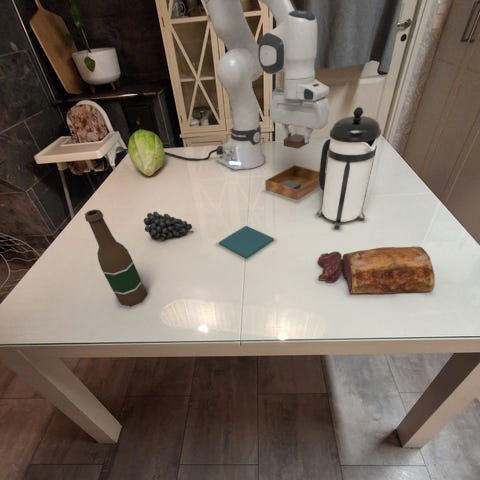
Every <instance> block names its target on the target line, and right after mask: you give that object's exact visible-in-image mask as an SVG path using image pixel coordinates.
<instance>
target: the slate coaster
mask: <svg viewBox="0 0 480 480" xmlns="http://www.w3.org/2000/svg"><path fill="white" fill-rule="evenodd" d="M281 185H284V186H287V187H290V188H293V189H297V190H298V189H300V188H301V184H300V183H297V182H294V181H290V180H287V181H285V182H284V183H282V184H281Z"/></svg>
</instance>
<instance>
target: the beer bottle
mask: <svg viewBox="0 0 480 480" xmlns="http://www.w3.org/2000/svg"><path fill="white" fill-rule="evenodd" d="M84 219H85V221H86V223H87V222H88V224H89V228H90V229H91V231H92V233H93V236H94V238H95V240H96V242H97V243H96V244H97V246H98V249H97V260H98V264H99V266H100V269H101V271H102V274H103V275H104V277H105V278H106V280H107V283H108V284H109V286H110V288H111V290H112V291H113V293H114V296H115V297H116V299H117V301H118V302H119V304H120V305H122V306H127V307H133V306H136V305H139V304H141V303H142V302H143V301H144V299H145V298H146V296H147V295H148V294H147V291H146V289H145V286H144V284H143V282H142V279H141V276H140V275H139V274H140V273H139V272H138V270H137V267H136V265H135V263H134V261H133V258H132V256H131V254H130V252H129V249H127V248H126V246H124V245H123V244H122V243H120V242H118V241H117V240H116V238H115V237H114V236H113V234H112V231H111V230H110V228H109V226H108V225H107V222H106V221H105V218H104V214H103V212H102V211H101V210H100V209H95V208H94V209H91V210H88V211H87V212H86V213H84Z"/></svg>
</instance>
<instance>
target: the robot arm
mask: <svg viewBox="0 0 480 480" xmlns="http://www.w3.org/2000/svg"><path fill="white" fill-rule="evenodd" d="M203 1H204V3H205V7H206V10H207V14H208V16H209V19H210V22H211V25H212V27H213V31H214V33H215V35H216V36H217V38H218V39H220V40H221V42H222V43H223V45H224V46H225V49H226V50H227V52H226V53H224V54H223V55H222V56H221V57H220V58H219V60H218V62H217V66H216V76H217V79H218V82H219V83H220V85H221V86H222V87H223V88H224V89H225V92H226V95H227V97H228V101H229V104H230V109H231V119H232V121H231V122H232V128H229V129H228V132H229V133H231V134H230V137H229V139H228V140H227V141H226V142H225V143H224V144H223V145H217V147H216V149H213V150H211V151H209V153H208V154H207V156H206V157H204V158H195V157H194V158H193V157H187V156H186V157H185V156H181V155H177V154H174V153H172V152H171V153H170V152H168V151H167V152H166V151H164V152H165V155H167V156H172V157H175V158H178V159H182V160H186V161H196V162H197V161H198V162H199V161H207V160H209V159H210V158H211V155H212V154H214V153H216V155H217V156H219V157H218V158H217V162H218V163H219V164H222V165H223V166H226V167H228V168H229V169H231V170H233V171H237V170H248V169H254V168H258V167H260V166H262V165H263V164H264V163H265V159H264V153H263V147H262V138H261V137H262V129H261V127H262V126H261V125H260V106H259V105H260V104H259V101H258V100H257V99H256V96H255V92H254V88H253V82H255V81H257V80H258V79H259V78H260V77H261V75H263V73H266V74H268V75H277V74H280V73H283V87H280V86H277V87H275V88H274V89H273V90H272V92H271V104H270V120H271V122H272V123H274V124H275V123H276V124H280V125H281V129H282V131H283V133H284V139H285V138H288V137H290V136H292V132H290V129H289V127H290V126H294V127H299V128H305V132H306V133H305V134H304V136H303V138H302V139H303V141H302V142H303V143H308V142H309V143H310V136H311V134H312V133H313V131H314V130H322V129H325V127H326V126H327V125H328V122H329V113H330V103H329V99H328V97H327V96H329V93H330V87H329V86H328V85H326V84H324V83H322V82H320V81H319V80H318V79H316V70H315V62H316V58H317V51H318V21H317V17H316V15H315V14H314V13H313V12H312V11H309V10H300V9H297V7H296V5H295V3H294V1H293V0H258V1H259V2H261V3H262V4H264V5H265V6H266V7H267V8H268V9H269V11H270V12H271V14H272V16H273V18H274V20H275V22H276V24H277V26H276V27H275V28H273V29H271V30H270V31H268V32H265V33H264V34H263V35H262V37H261V38H260V41H259V43H258V42H257V40H256V38H255V36H254V34H253V32H252V30H251V27H250V26H249V23H248V20H247V19H246V15H245V13H244V10H243V6H242V3H241V0H203ZM309 143H308V144H309ZM125 152H128V148H124V149H123V150H122V153H125Z"/></svg>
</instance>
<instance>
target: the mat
mask: <svg viewBox="0 0 480 480" xmlns="http://www.w3.org/2000/svg"><path fill="white" fill-rule="evenodd" d="M274 241H275V238H274V237H272V236H270V235H267V234H265V233H263V232H261V231H259V230H256V229H254V228H252V227H250V226H248V225H245V226H243V227H241V228H240V229H238V230H237V231H235V232H233V233H232V234H230V235H228V236H227V237H225V238H223V239H222V240H219V242H218V244H219V246H221V247H223V248H225V249H226V250H229V251H231V252H233V253H235V254H236V255H239V256H240V257H243V258H244V259H249V258H250V257H252V256H253V255H255V254H256V253H257V252H259V251H261V250H262V249H264V248H266V246H268V245H269V244H271V243H272V242H274Z"/></svg>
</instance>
